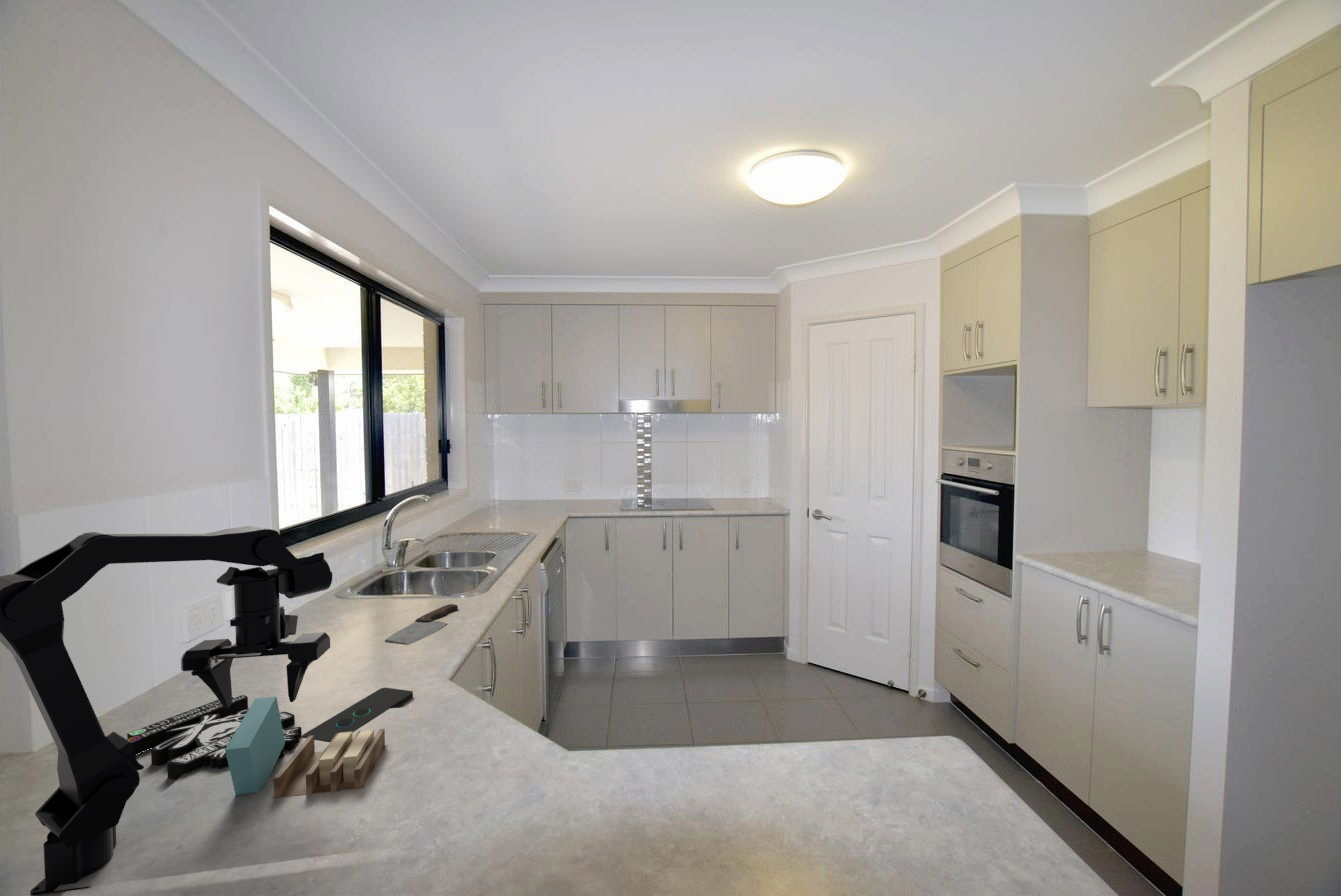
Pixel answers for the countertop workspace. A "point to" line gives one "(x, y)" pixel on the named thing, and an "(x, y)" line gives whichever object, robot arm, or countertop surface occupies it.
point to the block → (255, 746)
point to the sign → (201, 736)
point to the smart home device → (360, 713)
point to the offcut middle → (333, 756)
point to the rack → (305, 776)
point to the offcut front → (356, 754)
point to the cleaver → (422, 626)
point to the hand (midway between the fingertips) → (260, 703)
